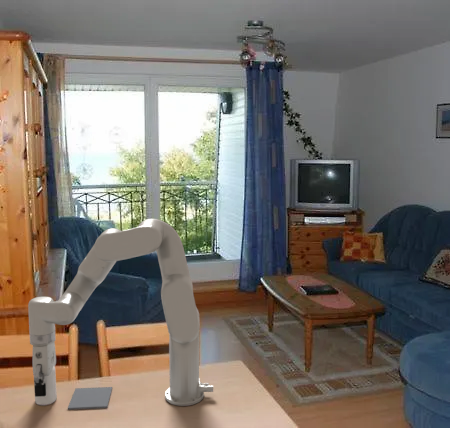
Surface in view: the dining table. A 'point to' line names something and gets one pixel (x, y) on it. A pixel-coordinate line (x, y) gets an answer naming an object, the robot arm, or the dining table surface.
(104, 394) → the mat
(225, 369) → the dining table surface
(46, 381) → the can
